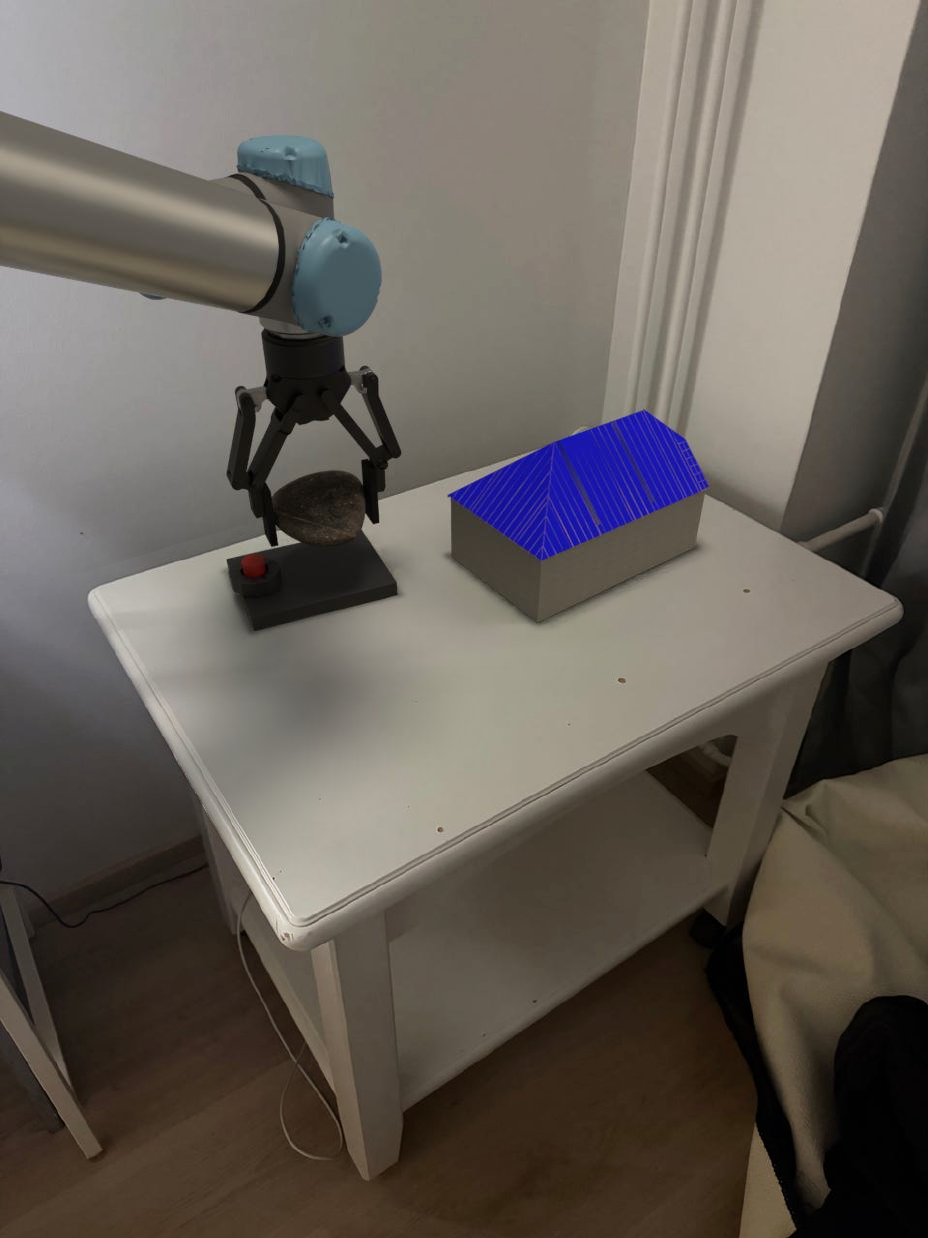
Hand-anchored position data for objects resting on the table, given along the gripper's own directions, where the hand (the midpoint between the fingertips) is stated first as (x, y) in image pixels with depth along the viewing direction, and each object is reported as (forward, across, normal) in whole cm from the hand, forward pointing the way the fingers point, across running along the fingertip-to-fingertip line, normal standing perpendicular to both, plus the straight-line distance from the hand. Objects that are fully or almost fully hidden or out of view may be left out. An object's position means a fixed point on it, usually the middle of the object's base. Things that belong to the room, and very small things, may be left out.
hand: (322, 528), depth 96 cm
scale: (+7, -2, 0) cm, 7 cm away
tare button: (+4, -8, 0) cm, 9 cm away
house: (+7, +28, -6) cm, 30 cm away
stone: (+1, 0, 0) cm, 1 cm away
